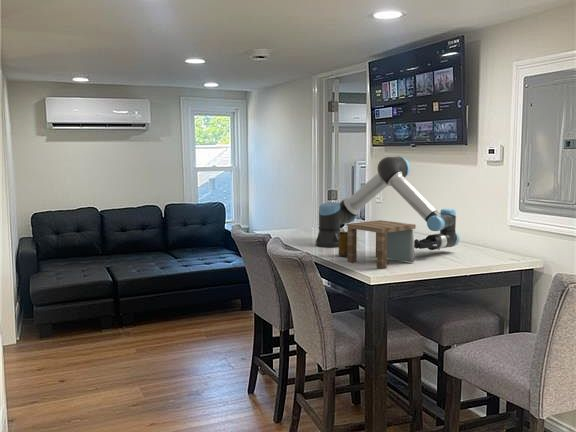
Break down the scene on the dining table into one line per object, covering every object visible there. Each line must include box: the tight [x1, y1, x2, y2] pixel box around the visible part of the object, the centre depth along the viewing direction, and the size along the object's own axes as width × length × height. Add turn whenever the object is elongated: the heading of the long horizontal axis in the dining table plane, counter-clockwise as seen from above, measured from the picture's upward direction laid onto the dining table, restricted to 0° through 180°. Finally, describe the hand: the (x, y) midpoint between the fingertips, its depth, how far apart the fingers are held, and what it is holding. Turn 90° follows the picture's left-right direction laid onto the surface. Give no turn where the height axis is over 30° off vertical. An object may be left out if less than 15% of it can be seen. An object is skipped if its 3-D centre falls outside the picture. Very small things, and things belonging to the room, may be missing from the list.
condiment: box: [334, 231, 348, 258], centre depth 274 cm, size 7×8×12 cm
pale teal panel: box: [387, 229, 416, 263], centre depth 260 cm, size 2×15×15 cm, turn 46°
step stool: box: [346, 219, 417, 270], centre depth 257 cm, size 22×22×18 cm
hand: (404, 246), depth 259 cm, fingers closed
